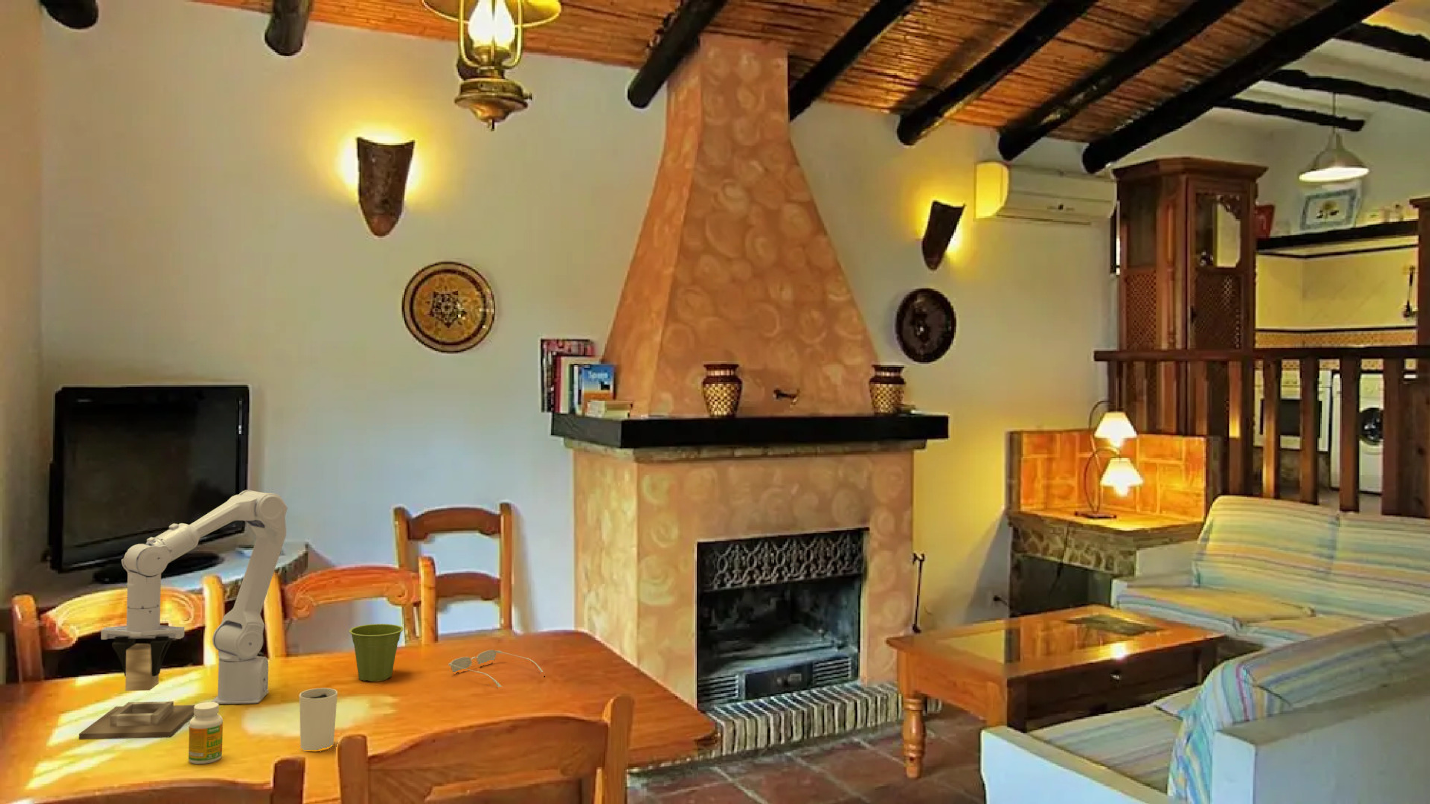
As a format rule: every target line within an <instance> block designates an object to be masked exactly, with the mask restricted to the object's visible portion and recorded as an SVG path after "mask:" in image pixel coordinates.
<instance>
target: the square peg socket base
mask: <svg viewBox="0 0 1430 804" xmlns="http://www.w3.org/2000/svg"><path fill="white" fill-rule="evenodd" d="M174 702H175V701H171V700H170V701H131V702H129V701H128V702H127V703H125V704H124V705H123V706H122V705H121V706H118V705H117V706H114V707H113V708H112V709H110V710H109V711H107V712H106V713H105V714H104V715H103V716H100V717H99V718H98V719H97V720H96V721H94V722H93V723H92V724H90V725H89V726H87V727H86V728H84V729H83V730H81V732H79V733H78V740H98V739H99V740H104V739H107V740H108V739H132V738H133V739H137V738H138V739H141V738H142V739H143V738H146V739H147V738H172V737H173V736H174V735H175V734H176V732H178V731H179V730H180V729H181V728H182V727H184V725H185V724H187V722H190V720H191V719H192V718H193V717H195V715H194V706H195V705H196V704H187V705H186V704H183V705H182V704H180V705H177V704H175V705H174Z"/></svg>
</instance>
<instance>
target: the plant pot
mask: <svg viewBox="0 0 1430 804" xmlns="http://www.w3.org/2000/svg"><path fill="white" fill-rule="evenodd" d="M403 631H404V627H403V626H401V625H397V624H392V623H371V624H363V625H357V626H353V627H351V628H350V629H349V631H348V632H349V633H350V634H351V639H352V644H353V645H354V646H353V647H354V654H355V661H356V667H357V675H358V679H359V680H361V681H362V680H363V682H364V681H365V682H366V681H369V682H372V681H377V682H380V681H381V682H383V681H386V680H388V679H389V678H391V677H392V675H393V670H394V664H395V660H396V655H397V649H398V645H399V641H400V638H401V633H402V632H403Z"/></svg>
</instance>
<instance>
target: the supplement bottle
mask: <svg viewBox="0 0 1430 804" xmlns="http://www.w3.org/2000/svg"><path fill="white" fill-rule="evenodd" d="M194 705H195V706H194V716H193V717H192V718H191V719H190V720H189V724H188V754H187V755H188V759H187V760H188V762H189V763H191V764H194V765H195V764H196V765H204V764H212V763H215V762H217V761H219V760H220V759H221V758H222V756H223V734H224V733H223V730H224V729H223V728H224V727H223V726H224V724H223V723H224V719H223V716H221V715H220V714H218V713H220V712H219V710H220V706H219V705H220V704H218V703H215V702H211V701H209V702H208V701H207V702H200V703H197V704H194Z"/></svg>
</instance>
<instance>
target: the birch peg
mask: <svg viewBox="0 0 1430 804" xmlns="http://www.w3.org/2000/svg"><path fill="white" fill-rule="evenodd" d="M159 675H160V673H159V674H158V675H157V676H152V651H151V645H150V643H135V645H133V646H132V647H130V648H128V649H127V650H126V676H125V691H126V692H132V691H134V692H135V691H151V690H152V689H154V688H155V687H156V686H158V685H159V684H160V683H159V681H160V678H159V677H160V676H159Z"/></svg>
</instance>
